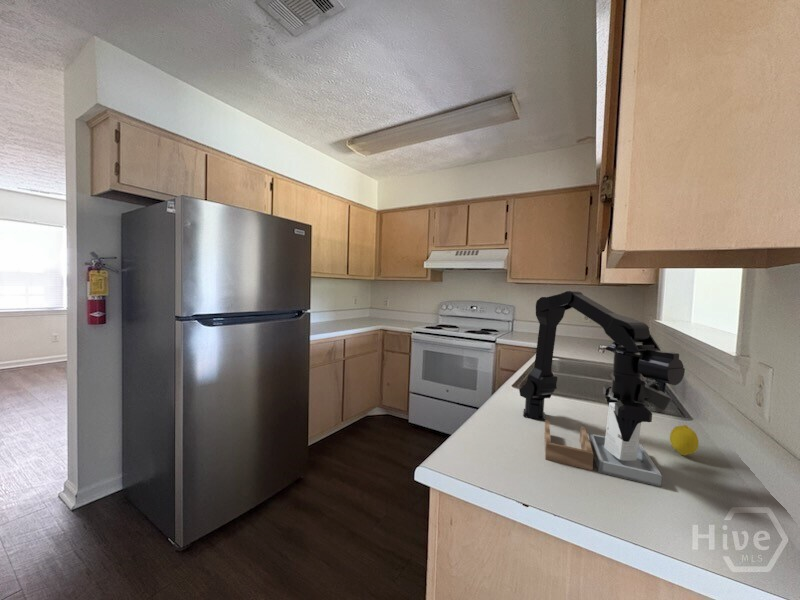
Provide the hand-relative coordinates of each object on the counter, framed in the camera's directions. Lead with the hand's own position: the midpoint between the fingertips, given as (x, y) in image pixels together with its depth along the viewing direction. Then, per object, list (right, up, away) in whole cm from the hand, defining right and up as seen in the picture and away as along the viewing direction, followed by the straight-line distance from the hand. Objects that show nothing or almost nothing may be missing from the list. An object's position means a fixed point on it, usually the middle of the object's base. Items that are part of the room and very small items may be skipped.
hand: (622, 434), depth 78 cm
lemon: (+19, -8, +5) cm, 21 cm away
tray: (0, -7, 0) cm, 7 cm away
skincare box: (0, -5, 0) cm, 5 cm away
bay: (-11, -6, +6) cm, 14 cm away
